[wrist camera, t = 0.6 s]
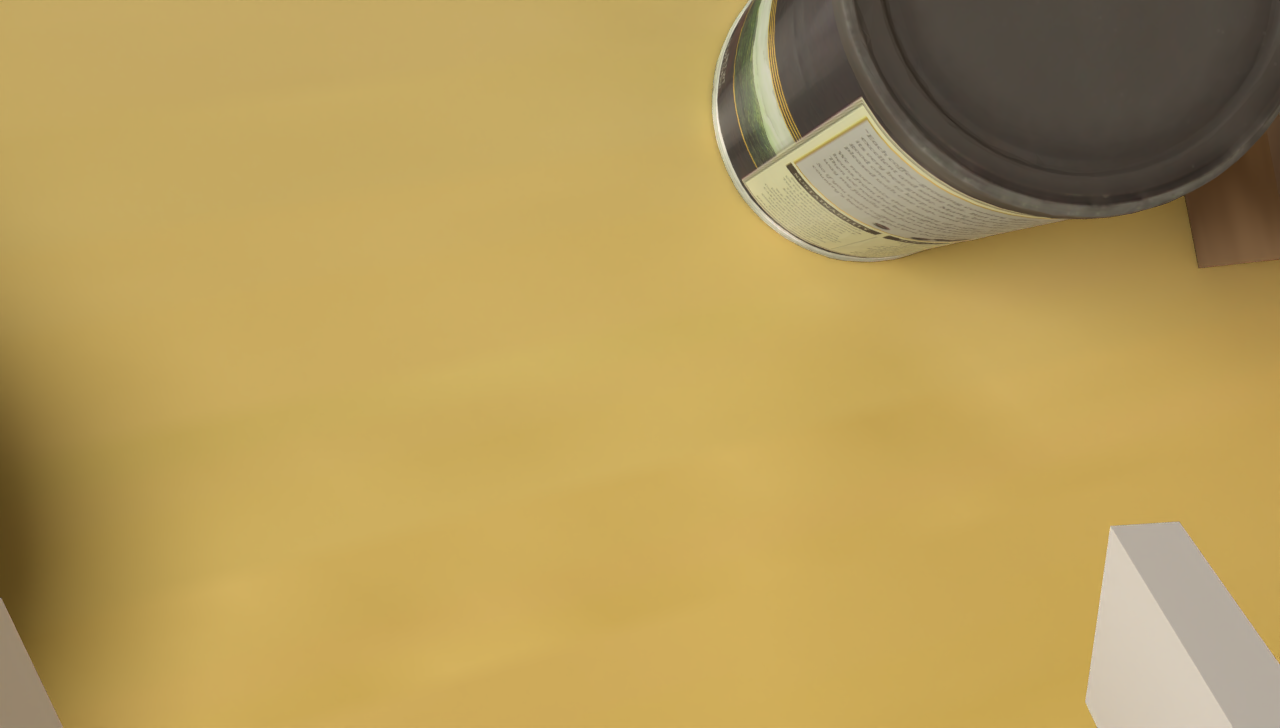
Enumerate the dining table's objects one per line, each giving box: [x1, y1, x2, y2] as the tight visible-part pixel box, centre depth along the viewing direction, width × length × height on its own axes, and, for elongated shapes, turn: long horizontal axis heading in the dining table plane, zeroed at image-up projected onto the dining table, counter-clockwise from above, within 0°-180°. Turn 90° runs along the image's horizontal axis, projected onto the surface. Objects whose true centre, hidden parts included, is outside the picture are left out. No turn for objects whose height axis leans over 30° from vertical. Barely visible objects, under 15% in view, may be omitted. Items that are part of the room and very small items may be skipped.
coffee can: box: [712, 0, 1280, 262], centre depth 29 cm, size 10×10×14 cm
